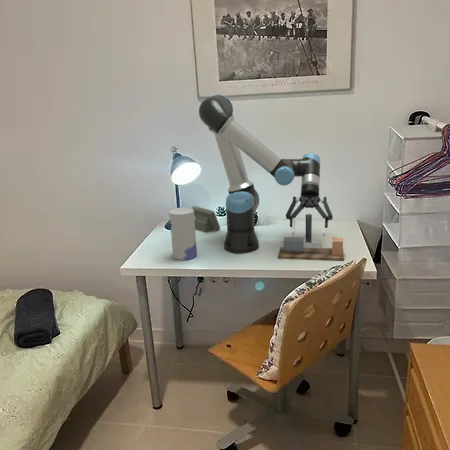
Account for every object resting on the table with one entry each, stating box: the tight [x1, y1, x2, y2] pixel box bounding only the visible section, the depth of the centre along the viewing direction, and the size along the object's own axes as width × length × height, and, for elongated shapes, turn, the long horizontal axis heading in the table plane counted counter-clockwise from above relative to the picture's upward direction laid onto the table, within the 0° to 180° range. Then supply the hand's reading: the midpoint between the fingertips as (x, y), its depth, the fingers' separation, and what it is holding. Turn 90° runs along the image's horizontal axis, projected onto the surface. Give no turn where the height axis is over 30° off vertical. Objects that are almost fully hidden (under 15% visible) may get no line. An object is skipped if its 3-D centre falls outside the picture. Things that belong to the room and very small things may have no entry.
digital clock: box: [191, 205, 221, 233], centre depth 243 cm, size 16×9×11 cm, turn 30°
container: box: [169, 206, 198, 261], centre depth 209 cm, size 10×10×20 cm
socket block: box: [331, 236, 344, 256], centre depth 203 cm, size 4×5×6 cm
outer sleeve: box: [282, 236, 305, 254], centre depth 207 cm, size 8×4×6 cm, turn 78°
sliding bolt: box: [279, 213, 323, 249], centre depth 204 cm, size 17×2×14 cm, turn 78°
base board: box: [277, 246, 345, 262], centre depth 206 cm, size 26×11×1 cm, turn 78°
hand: (308, 234), depth 201 cm, fingers open, 11 cm apart
